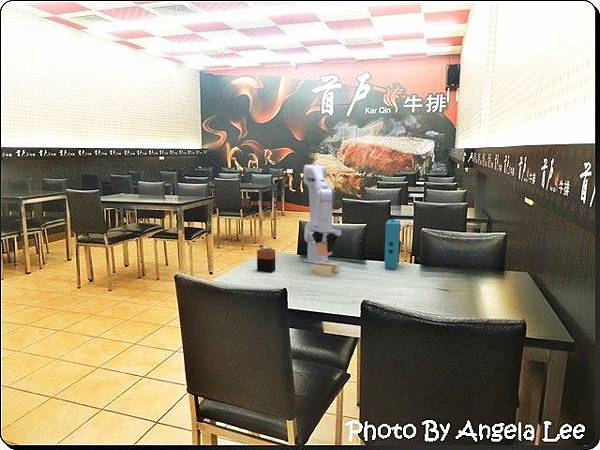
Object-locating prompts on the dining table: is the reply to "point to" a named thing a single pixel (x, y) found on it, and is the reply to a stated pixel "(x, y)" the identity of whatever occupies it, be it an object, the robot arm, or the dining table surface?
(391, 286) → the dining table surface
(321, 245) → the terracotta block
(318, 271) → the maple block
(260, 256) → the battery
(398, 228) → the block
